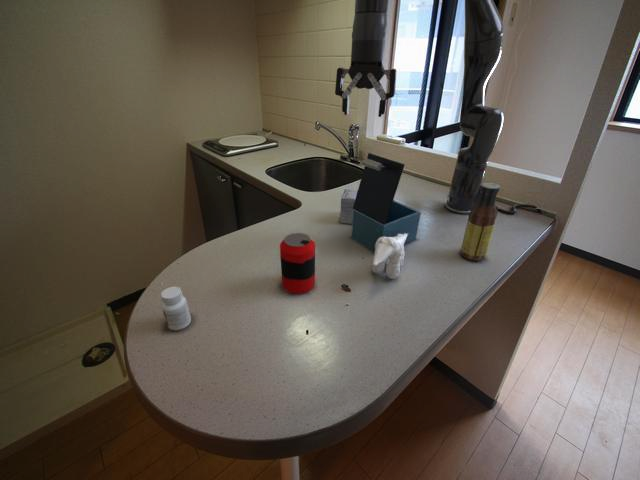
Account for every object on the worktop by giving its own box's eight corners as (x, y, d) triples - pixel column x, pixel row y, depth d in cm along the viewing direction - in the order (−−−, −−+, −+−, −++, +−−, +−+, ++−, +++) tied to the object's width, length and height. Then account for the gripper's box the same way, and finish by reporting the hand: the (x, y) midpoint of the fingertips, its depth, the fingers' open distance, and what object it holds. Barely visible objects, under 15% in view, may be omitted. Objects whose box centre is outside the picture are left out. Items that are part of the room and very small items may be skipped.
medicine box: (353, 224, 99) (355, 199, 95) (339, 223, 100) (341, 197, 96) (356, 214, 106) (358, 189, 102) (343, 212, 107) (344, 188, 102)
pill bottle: (171, 315, 64) (162, 285, 60) (194, 314, 64) (186, 284, 60) (164, 331, 60) (154, 300, 56) (188, 330, 61) (179, 299, 57)
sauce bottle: (483, 251, 87) (506, 182, 76) (485, 264, 81) (510, 191, 71) (458, 247, 88) (477, 179, 78) (458, 259, 83) (479, 188, 73)
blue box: (386, 224, 100) (389, 198, 95) (415, 239, 92) (421, 212, 87) (351, 237, 92) (353, 210, 88) (380, 255, 84) (384, 226, 80)
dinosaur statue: (356, 289, 72) (360, 247, 66) (394, 243, 90) (399, 207, 84) (384, 299, 69) (391, 257, 63) (417, 250, 87) (425, 214, 81)
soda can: (302, 299, 69) (301, 252, 63) (275, 287, 72) (272, 242, 66) (321, 281, 74) (321, 236, 68) (294, 270, 78) (293, 227, 72)
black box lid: (370, 153, 82) (355, 150, 79) (405, 164, 74) (390, 161, 71) (354, 208, 88) (340, 208, 84) (385, 224, 80) (371, 225, 76)
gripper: (402, 39, 72) (393, 114, 80) (342, 39, 76) (339, 111, 84) (399, 38, 66) (390, 119, 74) (333, 37, 70) (331, 116, 78)
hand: (363, 115), depth 79 cm, fingers open, 8 cm apart
